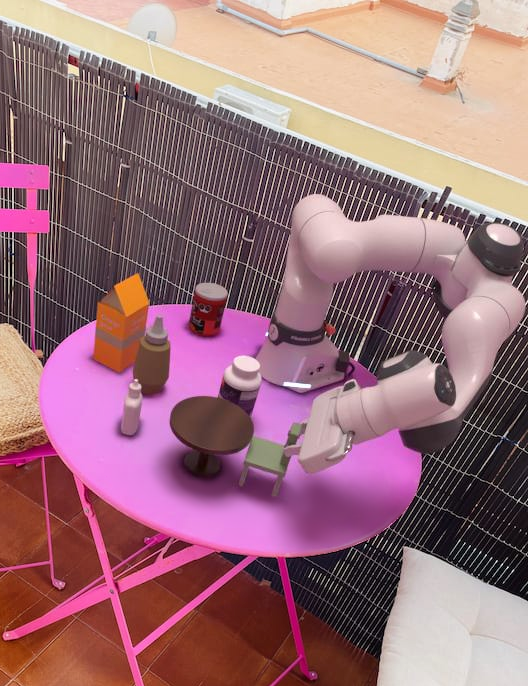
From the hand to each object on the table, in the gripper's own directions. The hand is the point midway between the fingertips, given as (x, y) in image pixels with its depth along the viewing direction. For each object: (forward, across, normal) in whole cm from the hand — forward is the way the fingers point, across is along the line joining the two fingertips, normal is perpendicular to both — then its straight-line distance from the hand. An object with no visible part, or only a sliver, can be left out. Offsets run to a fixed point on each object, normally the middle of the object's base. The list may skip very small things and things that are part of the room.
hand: (287, 443), depth 126 cm
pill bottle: (+17, +18, 0) cm, 25 cm away
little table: (+18, 0, +2) cm, 19 cm away
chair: (+9, 0, -5) cm, 10 cm away
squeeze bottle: (+31, +19, +14) cm, 39 cm away
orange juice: (+38, +27, +22) cm, 51 cm away
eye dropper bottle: (+30, +4, +14) cm, 34 cm away
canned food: (+28, +49, +11) cm, 58 cm away
